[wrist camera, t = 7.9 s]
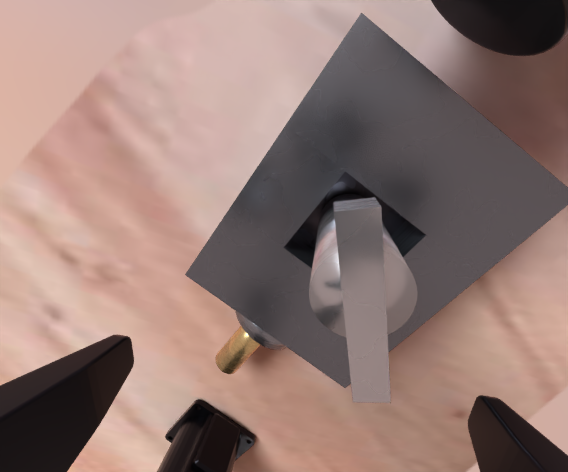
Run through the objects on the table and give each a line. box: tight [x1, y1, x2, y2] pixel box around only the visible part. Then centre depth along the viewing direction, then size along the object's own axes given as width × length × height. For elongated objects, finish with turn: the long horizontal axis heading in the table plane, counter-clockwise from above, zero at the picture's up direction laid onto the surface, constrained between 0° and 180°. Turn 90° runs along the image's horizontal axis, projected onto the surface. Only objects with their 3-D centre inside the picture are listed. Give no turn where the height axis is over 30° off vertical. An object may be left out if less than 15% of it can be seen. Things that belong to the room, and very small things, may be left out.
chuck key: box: [309, 194, 417, 403], centre depth 12 cm, size 6×3×9 cm, turn 9°
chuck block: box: [185, 13, 568, 388], centre depth 17 cm, size 20×11×5 cm, turn 144°
